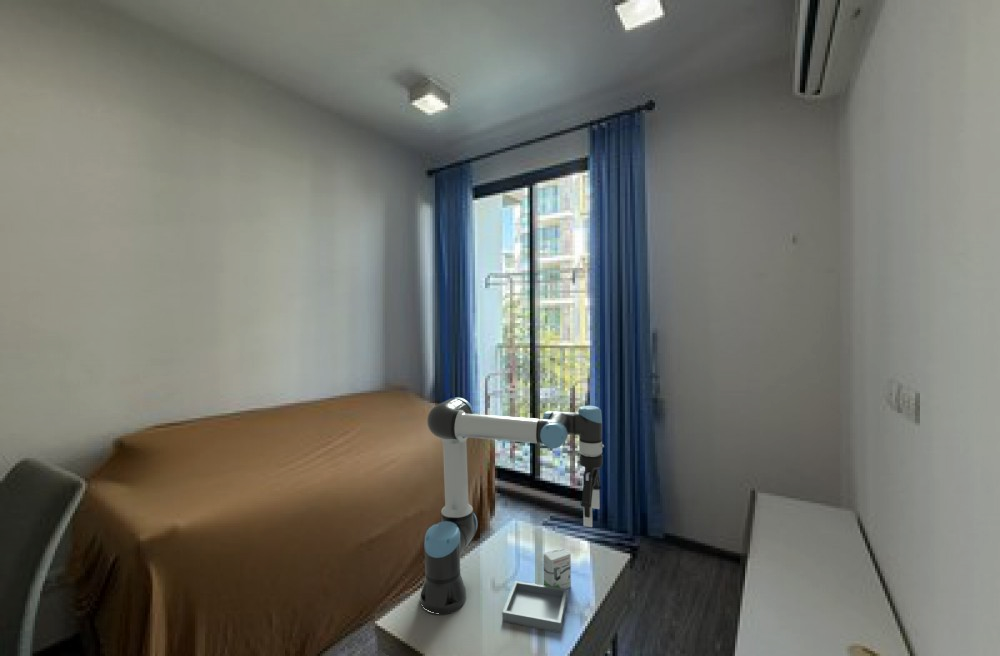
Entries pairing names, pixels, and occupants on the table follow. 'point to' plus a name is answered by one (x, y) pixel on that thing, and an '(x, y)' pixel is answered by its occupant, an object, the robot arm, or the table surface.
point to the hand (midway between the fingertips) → (591, 516)
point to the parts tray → (535, 606)
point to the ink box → (557, 568)
